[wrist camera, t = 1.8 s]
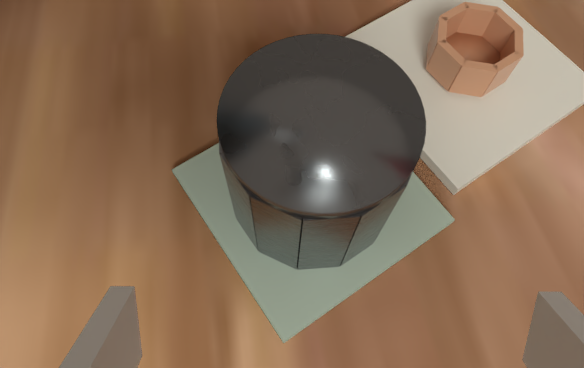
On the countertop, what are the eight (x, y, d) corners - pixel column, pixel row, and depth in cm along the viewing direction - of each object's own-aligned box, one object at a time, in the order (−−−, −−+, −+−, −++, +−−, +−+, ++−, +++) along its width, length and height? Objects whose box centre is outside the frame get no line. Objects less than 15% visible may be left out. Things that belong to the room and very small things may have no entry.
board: (327, 53, 39) (328, 45, 38) (463, -21, 42) (468, -31, 42) (453, 195, 34) (458, 189, 33) (595, 96, 37) (602, 88, 37)
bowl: (409, 58, 37) (421, 26, 34) (465, 25, 39) (481, -9, 36) (461, 112, 35) (479, 83, 32) (518, 75, 37) (541, 44, 34)
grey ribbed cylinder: (206, 175, 33) (178, 91, 24) (326, 105, 36) (342, 6, 27) (291, 300, 30) (295, 256, 21) (417, 213, 32) (469, 140, 23)
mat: (173, 173, 34) (171, 169, 34) (331, 83, 38) (332, 78, 37) (283, 343, 29) (283, 342, 29) (452, 222, 33) (454, 219, 32)
